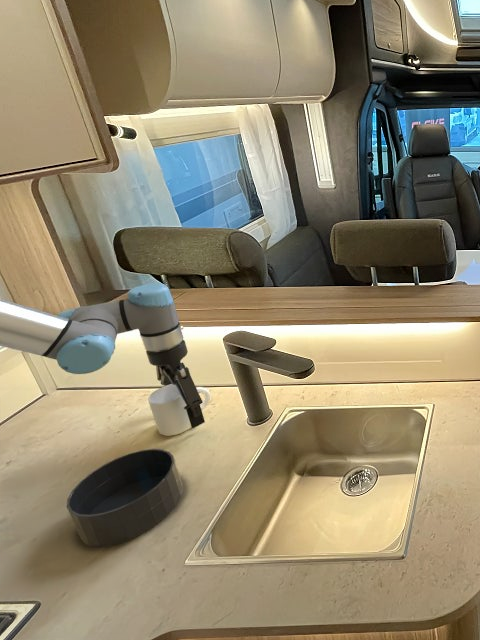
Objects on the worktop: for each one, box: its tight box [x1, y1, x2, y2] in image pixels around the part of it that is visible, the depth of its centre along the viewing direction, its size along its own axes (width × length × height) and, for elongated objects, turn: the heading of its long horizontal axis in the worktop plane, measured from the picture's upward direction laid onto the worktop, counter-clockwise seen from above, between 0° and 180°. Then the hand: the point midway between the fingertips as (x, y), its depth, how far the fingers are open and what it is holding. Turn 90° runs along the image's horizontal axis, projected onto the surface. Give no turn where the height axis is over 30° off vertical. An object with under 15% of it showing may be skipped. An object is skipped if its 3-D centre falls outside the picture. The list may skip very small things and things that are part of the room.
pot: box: [66, 448, 184, 548], centre depth 84 cm, size 16×16×8 cm
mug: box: [147, 384, 212, 437], centre depth 107 cm, size 12×8×10 cm
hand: (186, 414), depth 108 cm, fingers open, 13 cm apart
